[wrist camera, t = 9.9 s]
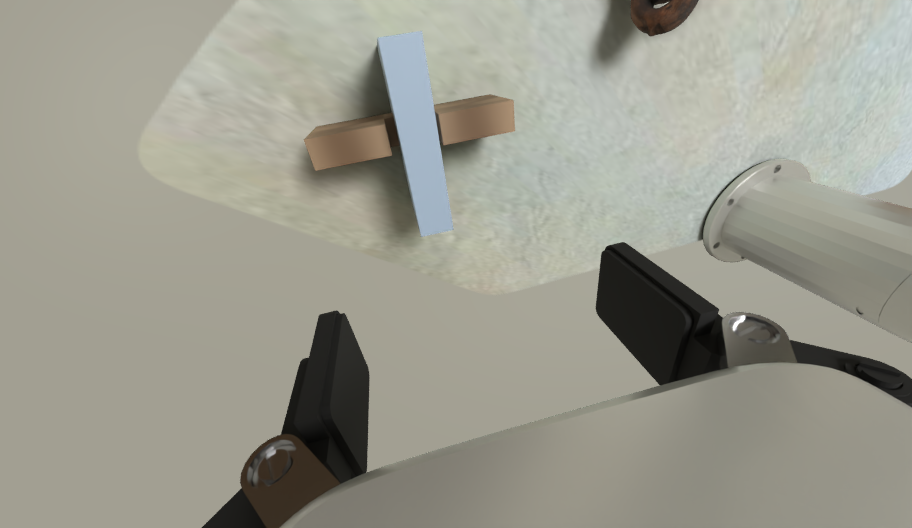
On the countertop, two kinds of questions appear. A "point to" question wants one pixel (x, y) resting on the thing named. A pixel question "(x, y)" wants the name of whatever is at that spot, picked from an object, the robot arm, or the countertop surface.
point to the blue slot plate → (416, 128)
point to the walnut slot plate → (380, 135)
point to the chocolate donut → (660, 14)
